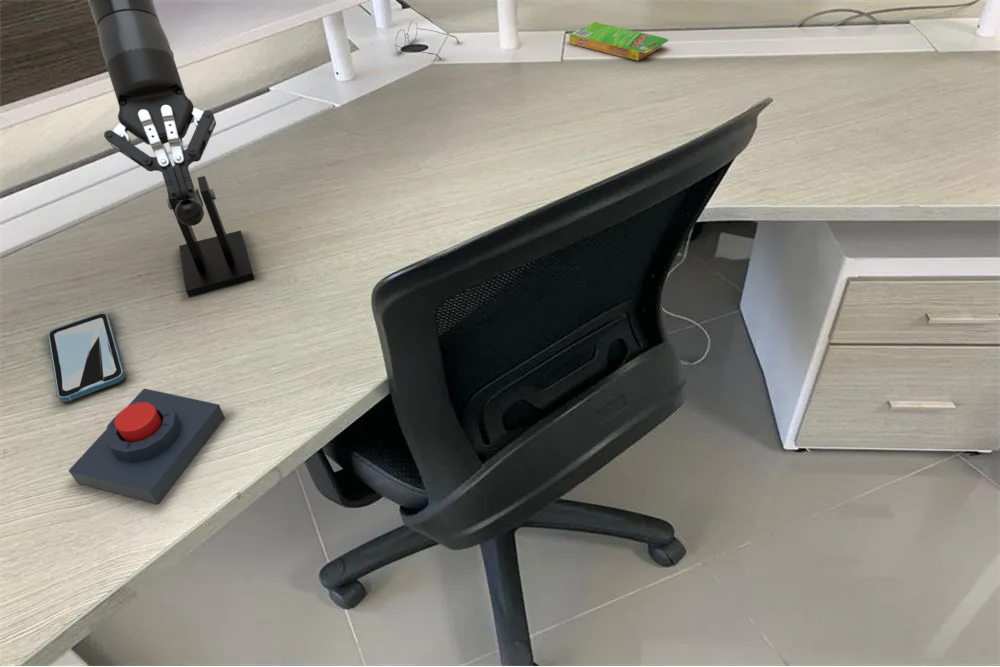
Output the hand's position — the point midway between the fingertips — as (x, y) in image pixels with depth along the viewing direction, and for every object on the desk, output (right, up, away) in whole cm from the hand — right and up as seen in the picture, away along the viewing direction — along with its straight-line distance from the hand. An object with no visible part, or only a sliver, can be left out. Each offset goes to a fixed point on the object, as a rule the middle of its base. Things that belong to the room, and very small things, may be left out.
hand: (184, 197), depth 84 cm
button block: (0, -29, -8) cm, 30 cm away
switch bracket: (-3, -6, +17) cm, 19 cm away
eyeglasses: (+21, +49, +79) cm, 95 cm away
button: (0, -26, -10) cm, 28 cm away
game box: (+65, +48, +74) cm, 110 cm away
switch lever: (-1, -1, +6) cm, 7 cm away
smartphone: (-14, -19, +4) cm, 24 cm away
